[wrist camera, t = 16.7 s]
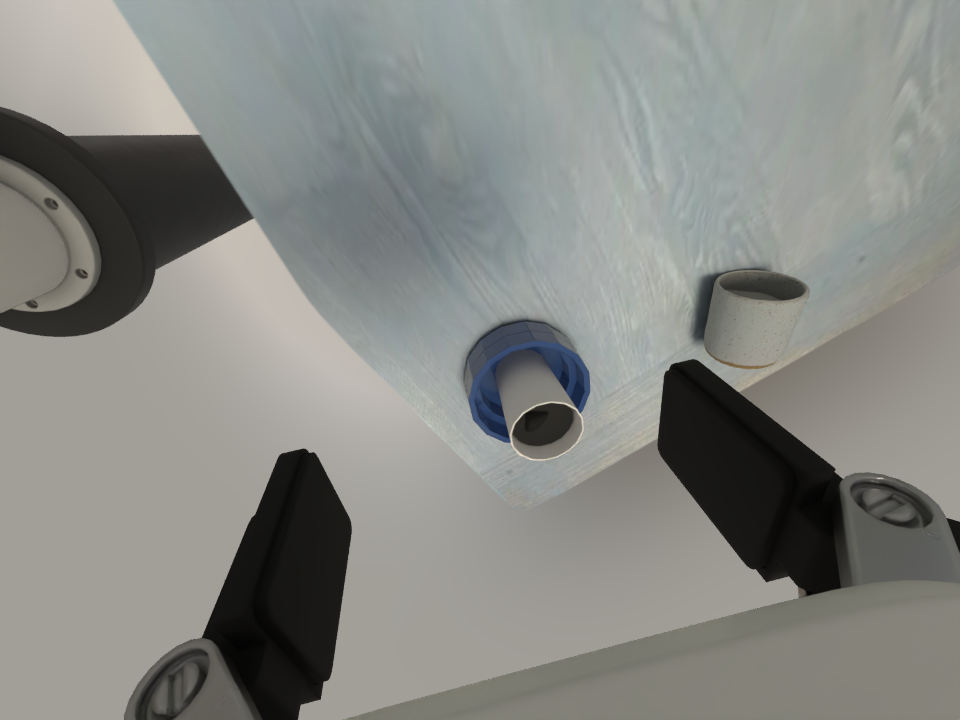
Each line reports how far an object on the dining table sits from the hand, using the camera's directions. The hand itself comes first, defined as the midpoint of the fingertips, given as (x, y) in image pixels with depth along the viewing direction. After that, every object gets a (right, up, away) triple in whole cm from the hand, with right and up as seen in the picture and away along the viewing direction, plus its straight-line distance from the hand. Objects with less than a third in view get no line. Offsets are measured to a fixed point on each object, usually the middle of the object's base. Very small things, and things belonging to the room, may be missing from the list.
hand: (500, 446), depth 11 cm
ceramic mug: (+27, +9, +33) cm, 43 cm away
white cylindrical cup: (+4, +1, +32) cm, 33 cm away
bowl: (+4, +1, +33) cm, 33 cm away
